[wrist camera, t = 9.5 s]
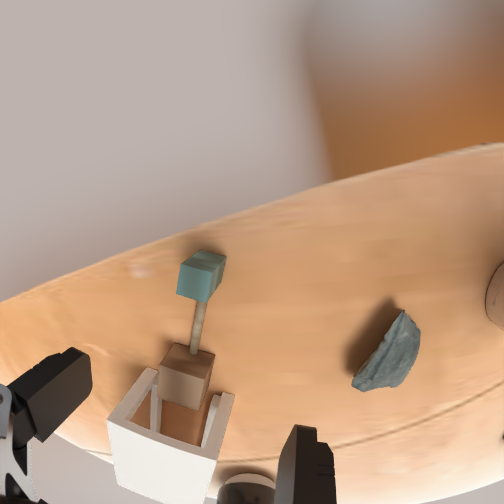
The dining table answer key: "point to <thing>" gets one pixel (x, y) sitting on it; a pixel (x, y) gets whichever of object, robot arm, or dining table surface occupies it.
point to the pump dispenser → (247, 490)
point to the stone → (390, 357)
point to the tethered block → (191, 359)
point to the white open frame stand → (164, 448)
